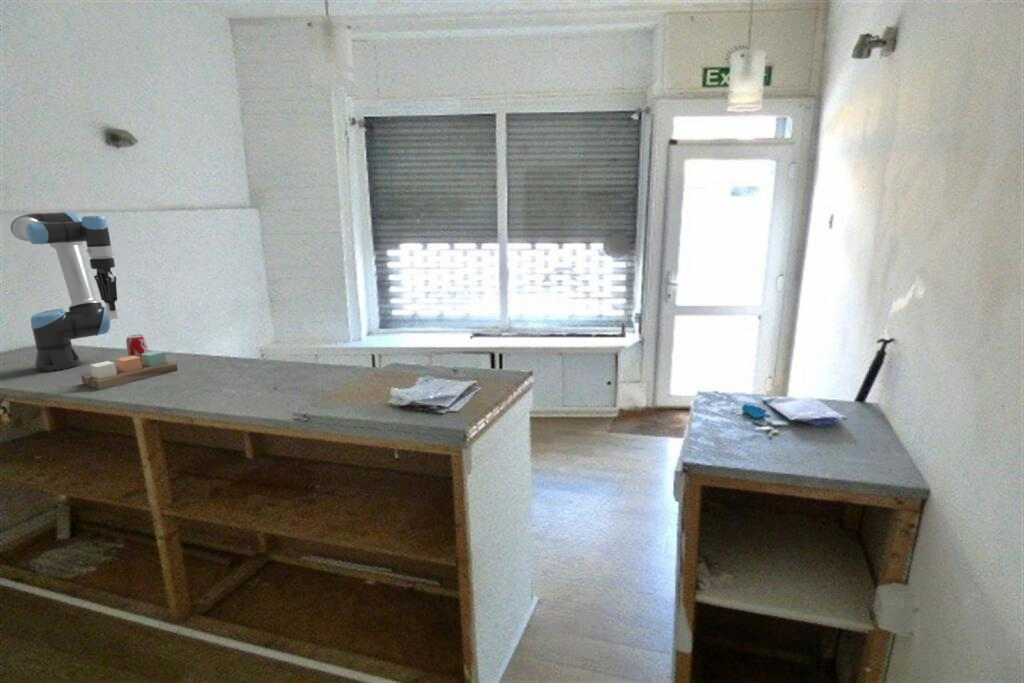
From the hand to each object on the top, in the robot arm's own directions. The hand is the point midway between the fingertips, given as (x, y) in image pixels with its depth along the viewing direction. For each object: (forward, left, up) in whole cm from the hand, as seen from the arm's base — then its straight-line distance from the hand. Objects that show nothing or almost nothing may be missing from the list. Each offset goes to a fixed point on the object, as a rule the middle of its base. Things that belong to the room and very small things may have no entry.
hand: (113, 318), depth 227 cm
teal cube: (+7, +9, -20) cm, 23 cm away
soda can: (-11, +11, -23) cm, 27 cm away
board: (+7, 0, -22) cm, 23 cm away
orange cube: (+7, 0, -20) cm, 21 cm away
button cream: (+7, -9, -20) cm, 23 cm away
